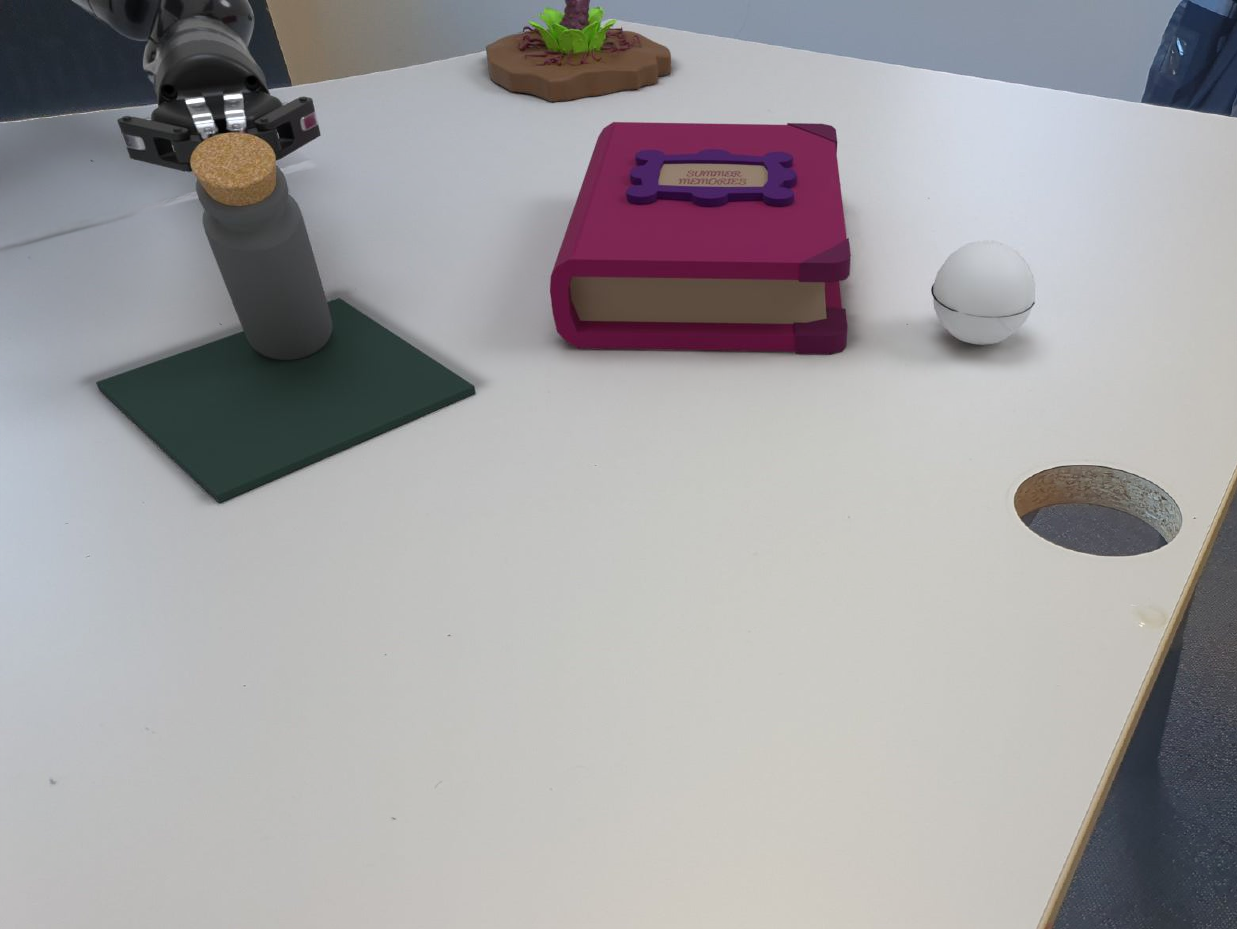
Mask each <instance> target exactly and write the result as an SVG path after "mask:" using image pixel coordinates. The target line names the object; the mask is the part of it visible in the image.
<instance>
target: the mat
mask: <svg viewBox="0 0 1237 929" xmlns="http://www.w3.org/2000/svg"><path fill="white" fill-rule="evenodd" d="M327 304H328V307H329V311H330V315H331V320H332V333H331V336H330V338H329V339H328V341H327V342H326V344H325V345H324V346H323V347H322V348H321V349H319V350H318V351H317V352H315V353H313V354H311V355H309V356H306V357H303V358H300V359H294V360H279V359H273V358H270V357H267V356H264V355H262V354H261V353H259V352H257V351H256V350H255V349H254V348H253V347H252V346H251V344H250V343H249V341H248V340H247V337H246V335H245V333H244V331H240V332H237V333H234V334H231V335H228V336H225V337H223V338H219V339H217V340H214V341H211V342H208V343H204V344H202V345H199V346H196V347H193V348H190V349H187V350H185V351H182V352H178V353H176V354H173V355H170V356H168V357H165V358H162V359H159V360H156V361H153V362H150V363H147V364H144V365H142V366H138V367H136V368H133V369H130V370H127V371H124V372H121V373H118V374H115V375H112V376H109V377H107V378H105V379H104V378H103V379H100V380H98V381H96V382H95V383H96V386H97V389H98V390H99V391H100V392H101V393H102V395H104V396H105V397H107V398H108V400H109V401H110V402H112V403H113V405H115V406H116V407H117V408H118V409H119V410H120V411H121V412H122V413H123V414H124V415H125V416H126V417H128V418H129V419H130V420H131V421H132V422H133V423H134V424H135V425H136V426H137V428H140V430H141V431H142V432H144V434H145V435H147V436H148V437H149V439H151V440H152V441H153V442H154V443H155V444H156V445H157V446H158V447H159V448H160V449H161V450H163V451H164V453H166V454H167V455H168V456H169V458H170V459H172V460H173V461H174V463H176V464H177V465H178V466H179V467H181V468H182V469H183V471H185V472H186V473H187V474H188V475H189V476H190V477H191V478H192V479H193V480H194V481H195V482H196V483H197V484H199V485H200V487H202V488H203V489H204V490H205V491H206V492H207V493H208V494H209V495H210V496H211V497H212V498H213V499H214V500H215V501H217V502H218V503H219V504H221V503H223V502H225V501H228V500H231V499H232V498H235V497H237V496H239V495H242V494H244V493H246V492H249V491H251V490H254V489H255V488H257V487H260V486H262V485H265V484H267V483H269V482H272V481H275V480H276V479H279V478H281V477H283V476H286V475H288V474H290V473H293V472H296V471H297V470H300V469H302V468H304V467H306V466H308V465H309V466H310V465H312V464H314V463H317V462H319V461H321V460H324V459H326V458H328V457H330V456H333V455H335V454H337V453H339V452H342V451H344V450H347V449H349V448H351V447H353V446H355V445H358V444H361V443H363V442H365V441H369V440H370V439H372V438H375V437H377V436H380V435H381V434H383V433H386V432H388V431H391V430H394V429H396V428H398V427H400V426H403V425H405V424H408V423H409V422H411V421H414V420H416V419H419V418H421V417H423V416H425V415H429V414H431V413H433V412H435V411H438V410H440V409H442V408H445V407H447V406H449V405H451V404H454V403H456V402H458V401H460V400H463V399H465V398H467V397H470V396H473V395H475V394H476V393H477V392H476V388H475V385H474V384H472V383H471V382H469V381H467V380H466V379H464V378H463V377H462V376H460V375H458V374H457V373H455V372H454V371H452V370H451V369H449V368H447V366H444V365H443V364H442V363H440V362H439V361H437V360H435V359H434V358H432V357H431V356H430V355H428V354H427V353H425V352H423V351H422V350H420V349H419V348H417V347H415V346H414V345H412V344H411V343H410V342H408V341H406V339H405V340H404V339H403V338H401V337H400V336H398V335H396V334H395V333H394V332H392V331H391V330H389V329H388V328H386V327H385V326H383V325H382V324H381V323H379V322H377V321H376V320H375V319H372V318H371V317H370V316H368V315H366V314H365V313H363V312H362V311H361V310H359V309H357V308H356V307H354V306H352V305H351V304H350V303H348V302H346V301H345V300H343V298H340V297H338V298H334V299H332V300H328V301H327Z"/></svg>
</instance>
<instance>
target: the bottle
mask: <svg viewBox="0 0 1237 929" xmlns="http://www.w3.org/2000/svg"><path fill="white" fill-rule="evenodd" d="M190 163H191V168H192V173H193V174H194V176H195V178H196V182H195V190H196V195H197V198H198V200H199V202H200V204H201V206H202V208H203V209H204V210H203V214H202V226H203V229H204V232H205V236H206V238H207V241H208V244H209V246H210V248H211V251H212V254H213V256H214V259H215V262H216V264H217V267H218V269H219V272H220V274H221V277H222V280H223V283H224V285H225V287H226V290H227V293H228V295H229V298H230V300H231V303H232V305H233V308H234V310H235V313H236V315H237V318H238V321H239V322H240V326H241V328H242V330H243V331H244V333H245V335H246V337H247V340H248V341H249V343H250V344H251V346H252V347H253V348H254V349H255V350H256V351H257V352H259V353H261V354H262V355H264V356H267V357H270V358H273V359H279V360H294V359H300V358H303V357H306V356H309V355H311V354H313V353H315V352H317V351H318V350H319V349H321V348H322V347H323V346H324V345H325V344H326V342H327V341H328V339H329V338H330V336H331V333H332V320H331V315H330V311H329V307H328V304H327V302H328V300H327V296H326V293H325V289H324V286H323V282H322V279H321V276H320V273H319V272H320V271H319V268H318V265H317V262H316V257H315V255H314V251H313V247H312V243H311V240H310V237H309V233H308V230H307V226H306V223H305V220H304V217H303V213H302V211H301V207H300V206H299V204H298V202H297V201H296V199H295V198H294V197H293V196H291V194H290V193H289V186H288V183H287V179H286V176H285V174H284V172H283V171H282V169H281V168H280V167H279V166H278V165H277V161H276V156H275V153H274V151H273V149H272V148H271V147H270V145H269V144H268V143H266V142H265V141H264V140H262V139H260V138H258V137H256V136H253V135H250V134H246V133H223V134H219V135H216V136H213V137H211V138H208V139H206V140H204V141H203V142H202V143H200V144H199V145H198V146H197V147H196V148H195V150H194V151H193V153H192V156H191V160H190Z"/></svg>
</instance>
